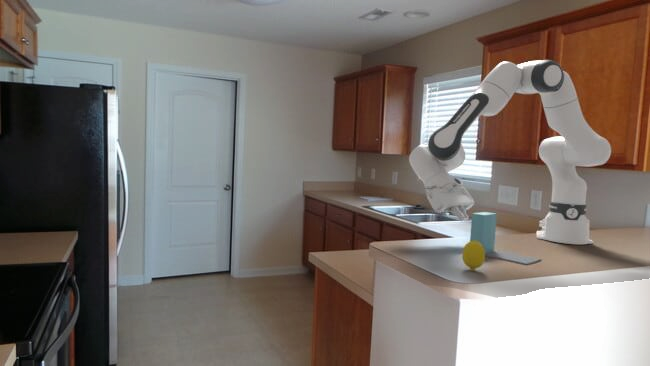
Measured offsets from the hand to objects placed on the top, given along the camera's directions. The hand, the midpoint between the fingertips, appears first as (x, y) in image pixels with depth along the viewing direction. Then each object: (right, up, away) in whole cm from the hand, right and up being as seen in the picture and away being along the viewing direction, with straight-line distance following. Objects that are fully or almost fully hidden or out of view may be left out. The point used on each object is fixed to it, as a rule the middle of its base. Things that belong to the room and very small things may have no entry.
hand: (465, 219), depth 142 cm
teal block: (+4, -10, -4) cm, 11 cm away
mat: (+10, -10, -11) cm, 18 cm away
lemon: (-7, -11, -28) cm, 31 cm away
